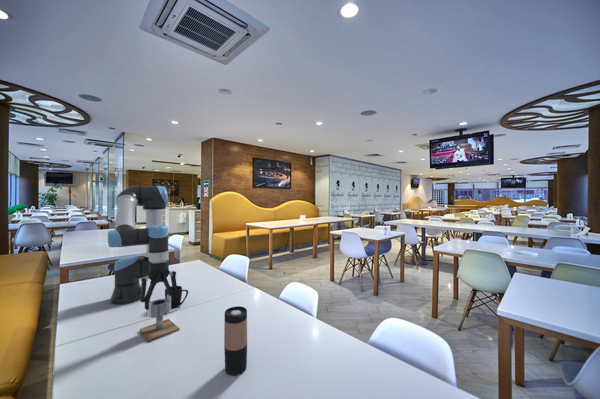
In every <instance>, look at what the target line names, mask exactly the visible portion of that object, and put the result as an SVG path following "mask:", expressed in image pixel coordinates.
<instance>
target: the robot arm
mask: <svg viewBox="0 0 600 399" xmlns="http://www.w3.org/2000/svg"><path fill="white" fill-rule="evenodd" d="M115 205H116V207H117V209H116V218H115V223H114V224H115V227H114V229H113V230H109V231H108V232H107V245H108V247H109V248H125V247H132V246H133V247H134V246H145V245H146V246H145V247H146V252H145V253H144V254H143V257H139V255H131V256H126V257H123V258H119V259H118V260H116V261H115V263H114V268H113V271H114V288H113V290H112V294H111V296H110V304H114V305H124V304H129V303H132V302H135V301H138V300H139V302H141V303H144V309H145V310H146V313H147V314H146V315H147V317H148V318H149V319H150V318H151V302H152V301H151V297H152V294H153V293H154V290H155V287H156V286H157V284H160V283H163V285H164V286H165V289H167V291H168V293H169V294H168V295H167V299H168V300H169V312H170V311H172V308H171V302H173V296H174V293H177V292H178V290H177V286H178V283H177V272H176V271H175V270H169V269H170V265H169V264H170V262H169V259H170V256H169V255H170V254H169V233H170V232H169V226H168V225H166V224H164V211H166V209H167V206H169V205H170V204H169V196H168V191H167V188H166V186H163V185H161V186H160V185H132V186H129V187H126V188H125V189H123V190H121V192H119V194H117V196H116V198H115ZM136 207H142V210H143V211H145V226H146V227H143V228H142V227H141V228H136V227H135V226H136ZM168 276H170V280H171V281H170V283H171V286H172V289H173V290H172V289H171V286H170V283H169V281H168ZM148 280H150V283H149V286H148V289H147V284H148V283H147V282H148ZM140 282H141V284H140Z"/></svg>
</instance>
